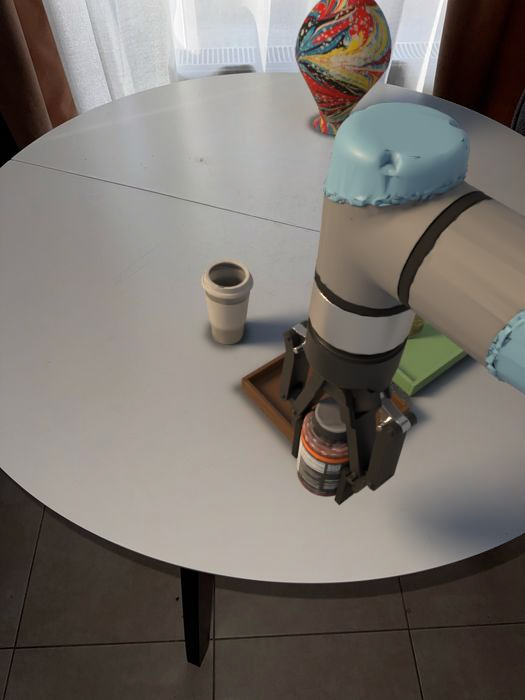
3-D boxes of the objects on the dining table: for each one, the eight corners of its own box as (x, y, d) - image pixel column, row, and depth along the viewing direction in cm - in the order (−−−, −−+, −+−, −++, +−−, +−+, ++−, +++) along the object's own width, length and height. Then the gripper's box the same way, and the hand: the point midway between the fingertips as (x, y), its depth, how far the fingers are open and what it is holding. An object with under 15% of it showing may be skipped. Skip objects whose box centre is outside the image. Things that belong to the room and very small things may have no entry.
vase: (284, 143, 121) (296, -19, 98) (293, 99, 133) (306, -54, 110) (375, 153, 120) (409, -9, 97) (376, 108, 132) (406, -45, 109)
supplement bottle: (330, 439, 63) (345, 376, 55) (363, 482, 60) (384, 422, 52) (284, 463, 61) (292, 402, 53) (316, 509, 58) (330, 452, 49)
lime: (424, 333, 88) (432, 311, 84) (401, 348, 86) (409, 325, 82) (402, 316, 90) (410, 293, 86) (380, 329, 88) (387, 306, 84)
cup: (197, 343, 85) (193, 284, 76) (212, 312, 89) (210, 252, 80) (244, 354, 84) (245, 296, 75) (256, 322, 88) (259, 263, 79)
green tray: (478, 346, 87) (483, 336, 85) (410, 396, 81) (414, 386, 79) (394, 282, 95) (397, 271, 94) (326, 322, 89) (328, 312, 87)
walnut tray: (407, 416, 79) (411, 406, 77) (324, 478, 72) (327, 469, 70) (322, 339, 87) (324, 328, 85) (241, 388, 80) (241, 378, 79)
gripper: (494, 377, 40) (416, 519, 58) (311, 235, 49) (292, 395, 67) (422, 434, 37) (362, 565, 54) (241, 271, 46) (240, 429, 64)
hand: (324, 471), depth 61 cm, fingers closed on supplement bottle, 6 cm apart
